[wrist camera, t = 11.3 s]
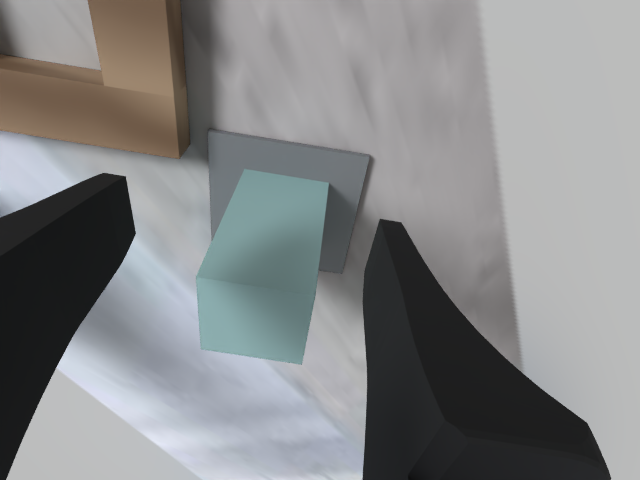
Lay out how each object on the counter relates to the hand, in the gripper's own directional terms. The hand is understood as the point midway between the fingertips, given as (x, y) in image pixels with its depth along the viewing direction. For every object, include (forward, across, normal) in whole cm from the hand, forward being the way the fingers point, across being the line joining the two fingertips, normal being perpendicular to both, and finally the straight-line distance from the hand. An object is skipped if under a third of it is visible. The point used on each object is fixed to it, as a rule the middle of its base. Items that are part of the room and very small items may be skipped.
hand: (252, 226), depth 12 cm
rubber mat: (+9, 0, +6) cm, 11 cm away
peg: (+9, 0, +6) cm, 11 cm away
